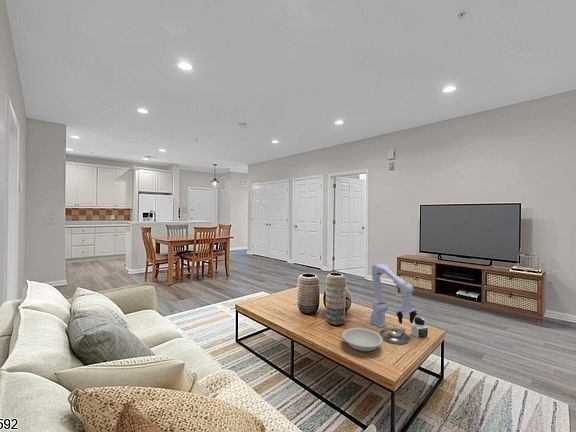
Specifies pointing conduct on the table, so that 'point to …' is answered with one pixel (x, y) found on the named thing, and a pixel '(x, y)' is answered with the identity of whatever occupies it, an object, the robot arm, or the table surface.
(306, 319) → the table surface
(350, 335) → the soup bowl
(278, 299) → the table surface
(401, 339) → the flange plate
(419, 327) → the medicine bottle
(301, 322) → the table surface
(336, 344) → the table surface
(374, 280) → the robot arm
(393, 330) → the ring nut
